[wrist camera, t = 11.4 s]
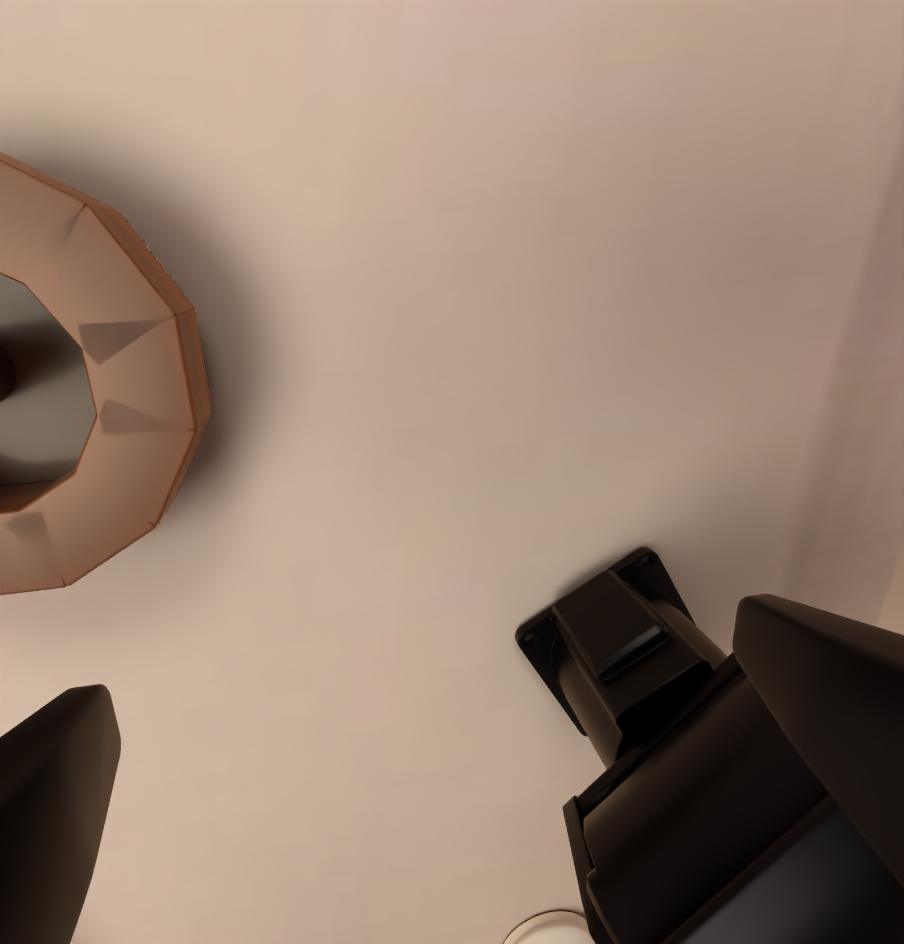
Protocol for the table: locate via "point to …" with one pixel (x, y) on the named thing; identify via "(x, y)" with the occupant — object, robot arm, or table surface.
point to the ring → (100, 381)
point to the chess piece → (552, 930)
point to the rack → (39, 391)
